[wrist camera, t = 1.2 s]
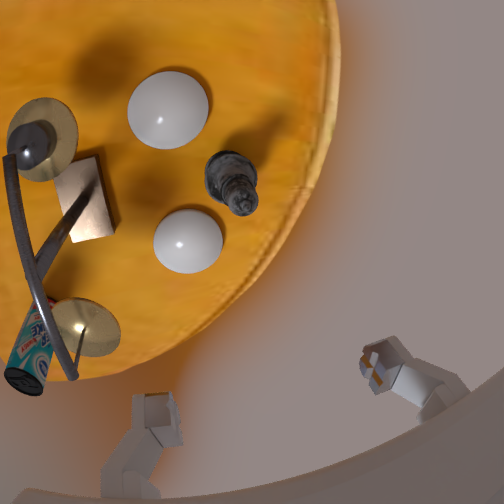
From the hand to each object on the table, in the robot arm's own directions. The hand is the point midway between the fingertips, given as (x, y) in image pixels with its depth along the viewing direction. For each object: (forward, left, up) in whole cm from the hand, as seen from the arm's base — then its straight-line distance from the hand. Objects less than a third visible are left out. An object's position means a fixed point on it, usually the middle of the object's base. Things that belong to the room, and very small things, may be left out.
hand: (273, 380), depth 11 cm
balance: (0, -15, -29) cm, 32 cm away
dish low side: (-8, -3, -29) cm, 30 cm away
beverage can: (+16, -28, -29) cm, 44 cm away
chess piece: (0, +3, -29) cm, 29 cm away
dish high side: (+9, -3, -29) cm, 30 cm away
